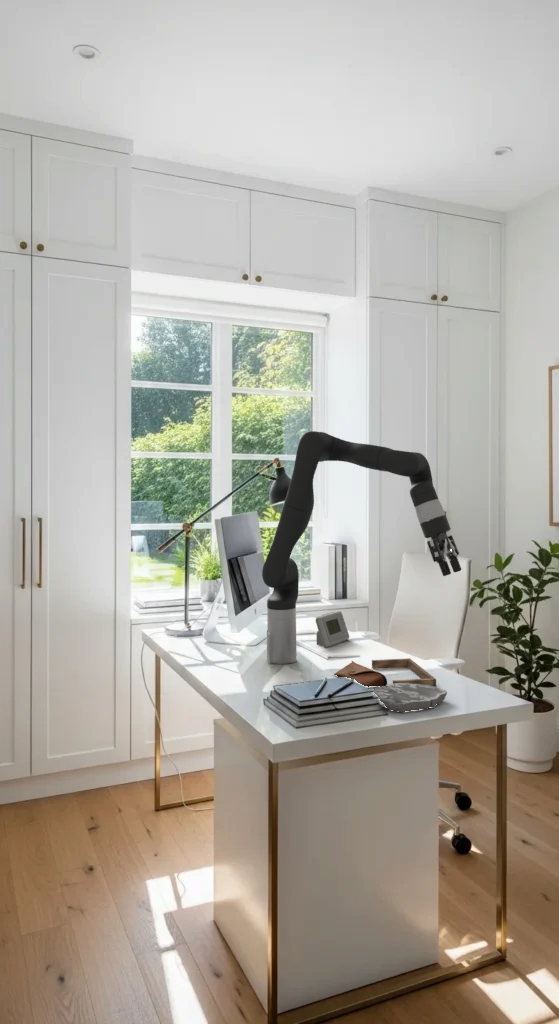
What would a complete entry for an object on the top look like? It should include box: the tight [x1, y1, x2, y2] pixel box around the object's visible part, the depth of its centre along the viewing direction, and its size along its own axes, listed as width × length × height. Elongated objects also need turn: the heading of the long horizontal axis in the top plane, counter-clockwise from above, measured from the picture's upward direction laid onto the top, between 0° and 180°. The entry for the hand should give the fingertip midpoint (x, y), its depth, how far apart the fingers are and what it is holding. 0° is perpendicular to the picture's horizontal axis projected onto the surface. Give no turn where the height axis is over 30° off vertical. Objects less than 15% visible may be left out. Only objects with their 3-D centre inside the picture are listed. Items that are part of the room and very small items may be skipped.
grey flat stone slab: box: [372, 682, 448, 712], centre depth 183 cm, size 20×17×3 cm
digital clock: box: [315, 610, 350, 648], centre depth 253 cm, size 16×9×11 cm, turn 134°
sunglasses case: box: [333, 660, 388, 687], centre depth 205 cm, size 18×7×7 cm, turn 26°
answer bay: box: [371, 657, 437, 687], centre depth 207 cm, size 12×24×2 cm, turn 7°
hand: (452, 573), depth 197 cm, fingers open, 8 cm apart
